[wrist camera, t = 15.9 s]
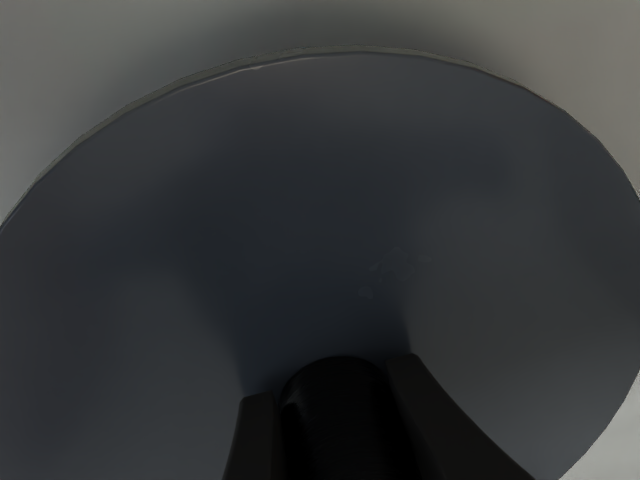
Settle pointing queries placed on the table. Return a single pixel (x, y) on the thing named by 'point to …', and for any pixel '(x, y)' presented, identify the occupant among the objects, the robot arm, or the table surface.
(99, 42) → the table surface
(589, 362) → the lid
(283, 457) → the robot arm
